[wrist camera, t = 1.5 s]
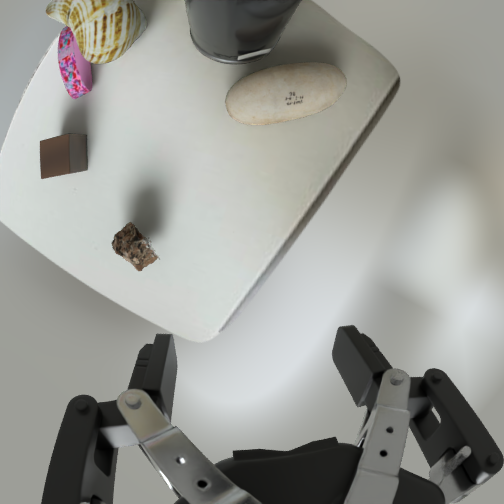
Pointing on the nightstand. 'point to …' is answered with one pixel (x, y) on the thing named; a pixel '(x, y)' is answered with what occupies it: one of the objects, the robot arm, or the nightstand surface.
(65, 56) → the headband
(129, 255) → the rock
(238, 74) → the nightstand surface
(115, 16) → the seashell
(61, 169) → the brown cube block
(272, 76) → the stone
